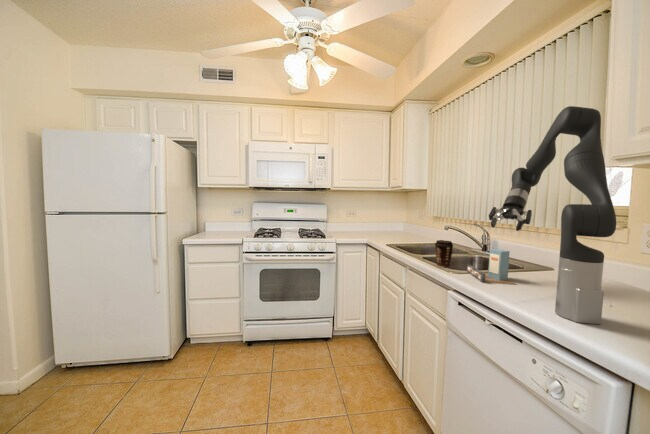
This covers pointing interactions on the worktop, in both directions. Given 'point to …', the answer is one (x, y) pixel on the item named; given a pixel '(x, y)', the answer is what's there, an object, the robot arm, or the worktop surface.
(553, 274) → the worktop surface
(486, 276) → the shelf board
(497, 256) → the carton
